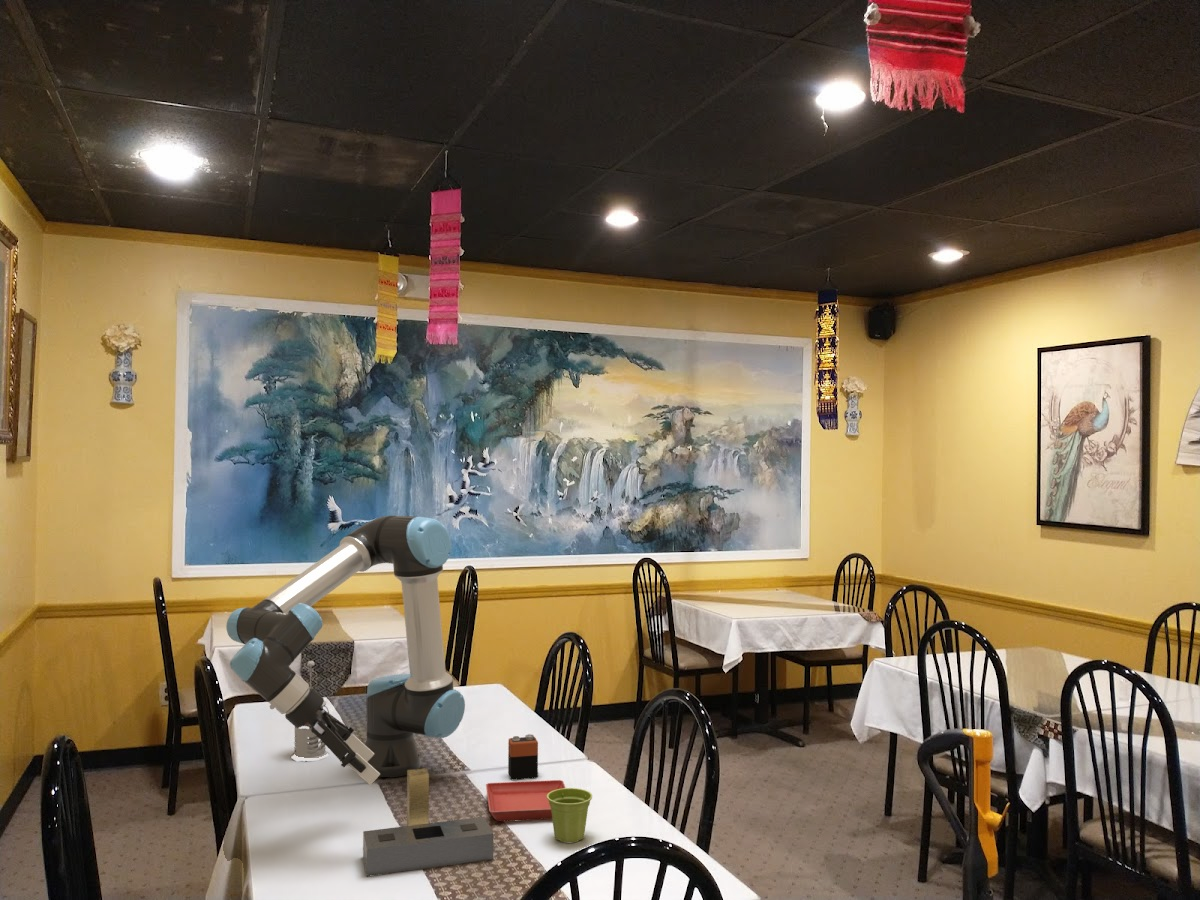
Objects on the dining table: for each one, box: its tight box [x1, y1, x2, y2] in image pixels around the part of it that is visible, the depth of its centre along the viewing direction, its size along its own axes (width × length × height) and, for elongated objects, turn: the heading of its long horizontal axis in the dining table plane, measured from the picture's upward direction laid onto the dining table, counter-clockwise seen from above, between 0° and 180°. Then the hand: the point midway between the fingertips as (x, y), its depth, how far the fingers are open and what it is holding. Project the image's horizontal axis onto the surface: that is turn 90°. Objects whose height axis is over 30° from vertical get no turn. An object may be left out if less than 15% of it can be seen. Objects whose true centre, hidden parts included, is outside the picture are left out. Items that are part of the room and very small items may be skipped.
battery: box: [507, 733, 539, 780], centre depth 227 cm, size 4×7×10 cm, turn 104°
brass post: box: [406, 767, 430, 826], centre depth 194 cm, size 4×4×12 cm
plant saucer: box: [485, 779, 566, 822], centre depth 207 cm, size 18×18×3 cm
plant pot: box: [547, 787, 593, 844], centre depth 190 cm, size 9×9×9 cm
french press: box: [293, 660, 330, 758], centre depth 243 cm, size 10×12×25 cm
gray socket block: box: [362, 816, 494, 877], centre depth 180 cm, size 24×9×5 cm, turn 109°
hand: (372, 768), depth 191 cm, fingers open, 13 cm apart
